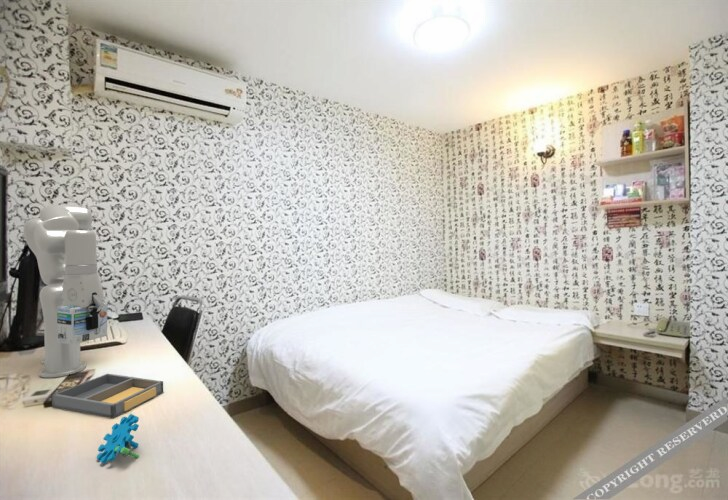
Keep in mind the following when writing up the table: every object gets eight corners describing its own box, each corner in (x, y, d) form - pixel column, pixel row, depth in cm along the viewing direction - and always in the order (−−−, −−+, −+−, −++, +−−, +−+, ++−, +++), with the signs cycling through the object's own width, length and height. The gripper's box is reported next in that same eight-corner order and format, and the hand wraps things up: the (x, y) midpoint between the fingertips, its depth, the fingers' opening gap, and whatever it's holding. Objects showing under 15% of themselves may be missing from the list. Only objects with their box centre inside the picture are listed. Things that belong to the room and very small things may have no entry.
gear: (92, 443, 77) (130, 404, 81) (115, 453, 81) (150, 415, 85) (96, 475, 69) (138, 430, 73) (121, 484, 73) (160, 440, 76)
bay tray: (52, 407, 97) (51, 394, 97) (107, 384, 113) (107, 373, 113) (114, 418, 91) (114, 405, 91) (164, 392, 107) (164, 381, 107)
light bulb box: (73, 345, 101) (73, 308, 100) (55, 343, 102) (55, 306, 102) (108, 335, 111) (108, 302, 111) (92, 333, 113) (92, 300, 112)
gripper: (47, 271, 105) (49, 329, 105) (89, 272, 100) (91, 333, 100) (74, 269, 112) (75, 324, 112) (114, 270, 107) (116, 327, 108)
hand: (83, 328), depth 106 cm, fingers closed on light bulb box, 6 cm apart
